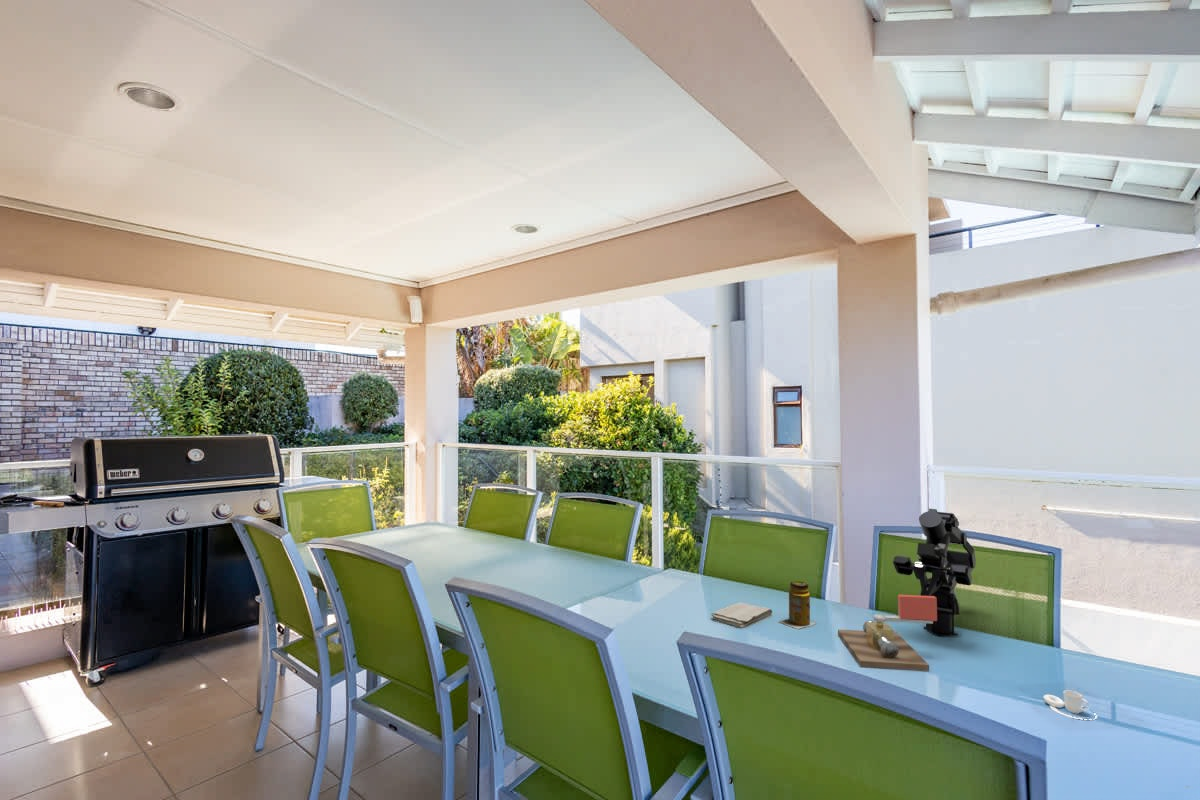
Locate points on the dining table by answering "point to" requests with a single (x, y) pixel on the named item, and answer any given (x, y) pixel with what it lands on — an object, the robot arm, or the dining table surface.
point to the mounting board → (875, 658)
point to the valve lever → (913, 610)
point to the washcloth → (741, 615)
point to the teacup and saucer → (1067, 703)
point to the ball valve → (881, 638)
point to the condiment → (798, 606)
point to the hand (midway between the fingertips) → (925, 596)
